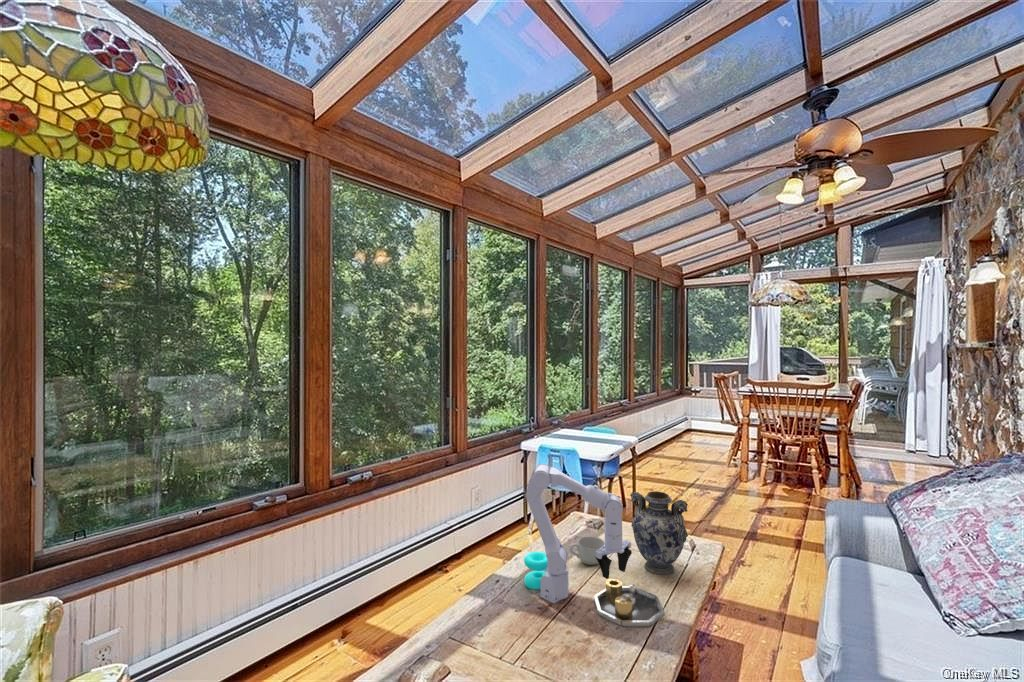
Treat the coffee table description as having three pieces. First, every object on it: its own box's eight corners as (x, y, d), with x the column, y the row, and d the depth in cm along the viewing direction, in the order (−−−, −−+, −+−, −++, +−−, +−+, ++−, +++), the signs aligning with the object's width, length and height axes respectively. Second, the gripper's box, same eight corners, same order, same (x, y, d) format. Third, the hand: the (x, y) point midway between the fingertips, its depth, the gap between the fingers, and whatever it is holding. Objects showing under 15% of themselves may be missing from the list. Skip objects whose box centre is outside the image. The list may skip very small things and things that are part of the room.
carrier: (639, 639, 136) (639, 616, 136) (581, 609, 151) (581, 589, 151) (674, 609, 151) (674, 589, 151) (618, 585, 166) (618, 566, 166)
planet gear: (614, 604, 153) (614, 588, 153) (602, 596, 157) (602, 581, 157) (625, 599, 155) (625, 583, 155) (613, 592, 160) (613, 577, 160)
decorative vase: (693, 563, 181) (692, 491, 180) (684, 586, 165) (682, 507, 164) (638, 551, 192) (636, 483, 191) (624, 572, 176) (622, 497, 175)
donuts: (536, 566, 160) (518, 555, 168) (536, 595, 160) (518, 583, 168) (558, 557, 166) (539, 547, 174) (558, 586, 166) (540, 574, 174)
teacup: (604, 556, 188) (604, 536, 188) (607, 569, 178) (606, 548, 178) (569, 555, 190) (569, 535, 190) (570, 568, 179) (569, 547, 179)
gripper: (606, 542, 149) (606, 585, 149) (637, 532, 157) (638, 572, 157) (590, 535, 155) (591, 576, 155) (621, 525, 163) (622, 564, 163)
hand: (613, 574), depth 156 cm, fingers open, 7 cm apart
